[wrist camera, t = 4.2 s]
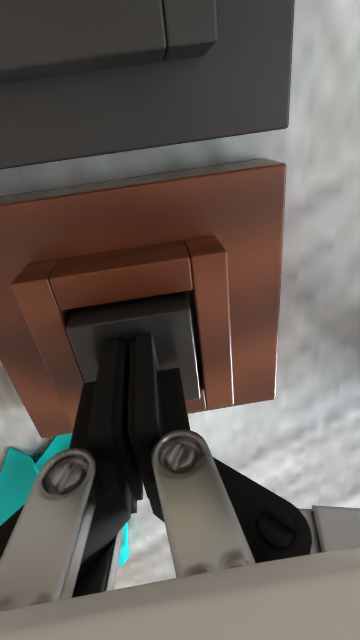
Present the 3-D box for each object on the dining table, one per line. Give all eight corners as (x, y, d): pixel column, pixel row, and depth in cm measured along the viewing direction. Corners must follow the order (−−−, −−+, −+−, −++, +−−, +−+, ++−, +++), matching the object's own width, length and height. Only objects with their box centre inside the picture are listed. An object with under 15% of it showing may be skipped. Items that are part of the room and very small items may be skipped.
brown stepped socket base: (-44, 202, 12) (-115, 231, 9) (265, 157, 13) (312, 168, 9) (51, 406, 18) (30, 472, 14) (261, 371, 18) (289, 427, 15)
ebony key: (75, 299, 12) (64, 329, 10) (182, 282, 12) (190, 309, 10) (102, 380, 14) (96, 416, 12) (193, 365, 14) (200, 399, 12)
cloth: (44, 615, 32) (38, 647, 30) (-112, 590, 26) (-133, 628, 24) (229, 475, 23) (237, 507, 21) (54, 394, 17) (43, 427, 16)
